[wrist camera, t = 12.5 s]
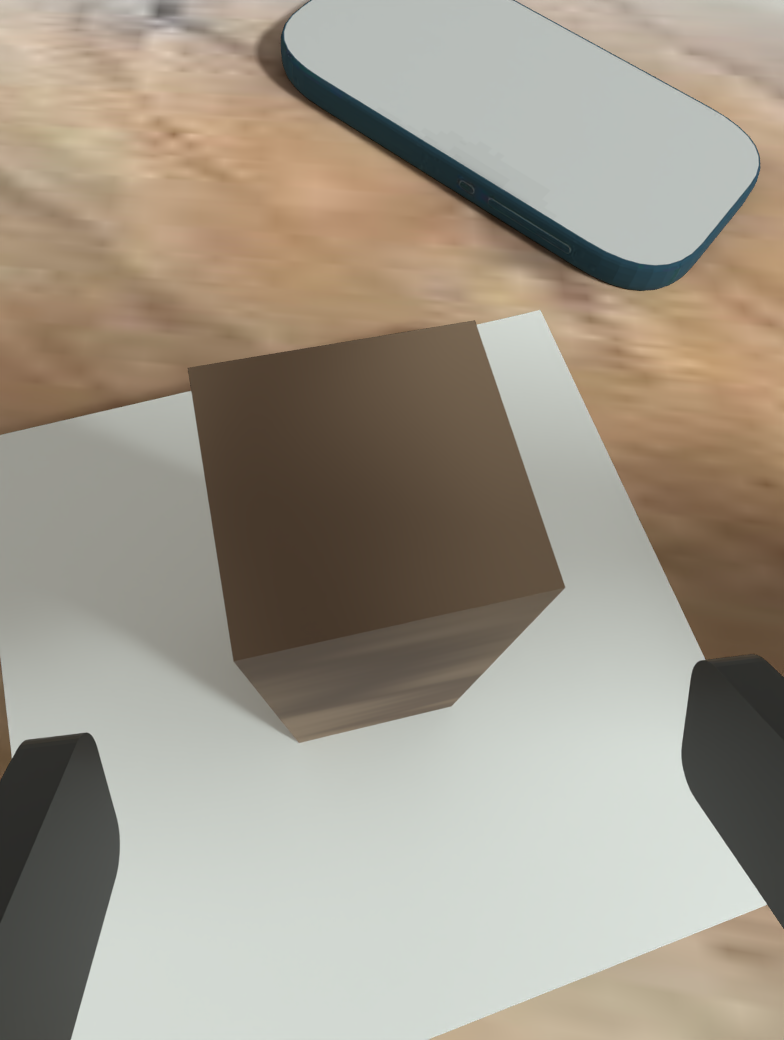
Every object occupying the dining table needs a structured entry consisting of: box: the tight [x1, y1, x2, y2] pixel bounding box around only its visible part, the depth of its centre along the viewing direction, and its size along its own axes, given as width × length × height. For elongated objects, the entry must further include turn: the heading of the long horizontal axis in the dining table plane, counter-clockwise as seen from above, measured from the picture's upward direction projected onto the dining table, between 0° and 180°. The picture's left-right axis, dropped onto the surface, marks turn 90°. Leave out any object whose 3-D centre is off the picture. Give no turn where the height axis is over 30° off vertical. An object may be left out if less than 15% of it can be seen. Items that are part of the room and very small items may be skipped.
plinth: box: [0, 310, 767, 1040], centre depth 23 cm, size 20×20×4 cm
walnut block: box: [188, 320, 565, 743], centre depth 16 cm, size 4×4×12 cm
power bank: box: [281, 0, 760, 291], centre depth 35 cm, size 24×12×2 cm, turn 52°
